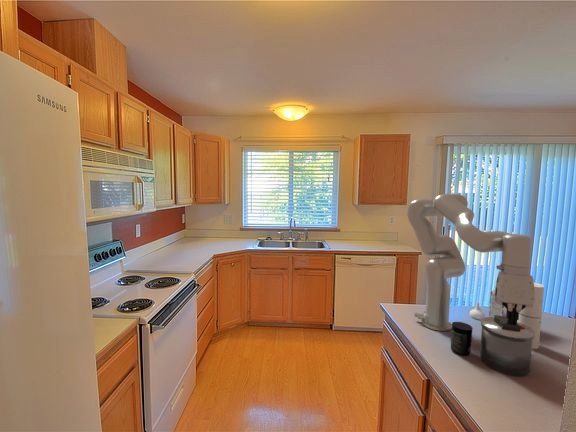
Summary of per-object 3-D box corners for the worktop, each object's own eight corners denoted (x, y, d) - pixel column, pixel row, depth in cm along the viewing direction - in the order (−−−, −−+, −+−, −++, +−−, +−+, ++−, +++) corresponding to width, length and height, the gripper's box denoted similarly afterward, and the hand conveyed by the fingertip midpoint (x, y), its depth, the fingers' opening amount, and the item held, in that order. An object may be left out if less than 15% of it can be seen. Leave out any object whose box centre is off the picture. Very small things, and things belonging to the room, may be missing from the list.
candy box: (507, 319, 133) (509, 286, 131) (521, 324, 127) (524, 290, 126) (487, 324, 128) (490, 289, 127) (501, 329, 122) (504, 294, 121)
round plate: (474, 317, 107) (475, 308, 107) (521, 323, 102) (522, 315, 102) (488, 335, 93) (488, 325, 92) (544, 343, 87) (544, 333, 87)
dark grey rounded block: (487, 371, 94) (489, 337, 93) (475, 349, 107) (477, 319, 106) (538, 381, 89) (541, 345, 88) (518, 356, 102) (521, 326, 101)
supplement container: (468, 359, 101) (470, 332, 100) (448, 351, 105) (449, 325, 105) (472, 351, 106) (474, 325, 105) (452, 344, 110) (454, 320, 109)
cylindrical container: (510, 339, 114) (515, 281, 112) (526, 339, 115) (531, 281, 113) (527, 349, 107) (532, 287, 105) (543, 348, 108) (549, 287, 106)
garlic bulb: (487, 321, 132) (490, 305, 131) (474, 320, 132) (477, 304, 131) (478, 315, 138) (481, 300, 137) (466, 314, 138) (468, 299, 137)
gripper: (493, 270, 94) (490, 322, 95) (548, 274, 88) (544, 329, 90) (485, 265, 101) (483, 314, 102) (536, 269, 95) (533, 320, 97)
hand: (512, 321), depth 96 cm, fingers closed
